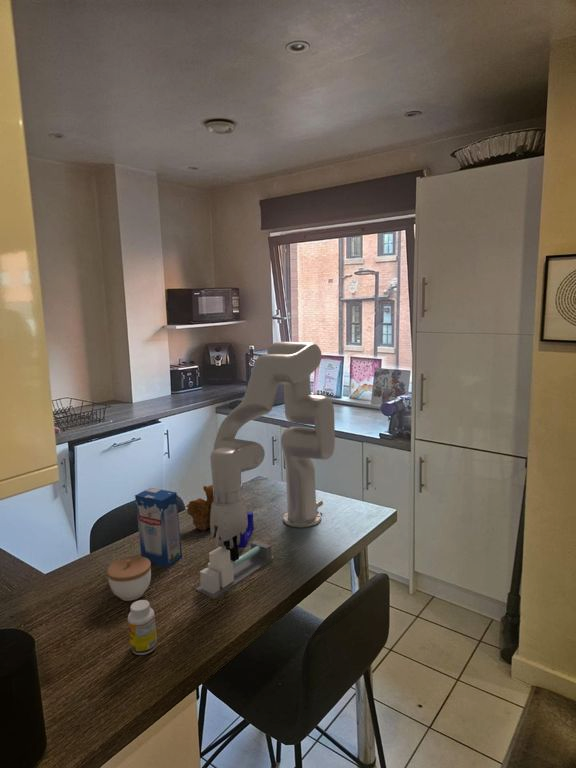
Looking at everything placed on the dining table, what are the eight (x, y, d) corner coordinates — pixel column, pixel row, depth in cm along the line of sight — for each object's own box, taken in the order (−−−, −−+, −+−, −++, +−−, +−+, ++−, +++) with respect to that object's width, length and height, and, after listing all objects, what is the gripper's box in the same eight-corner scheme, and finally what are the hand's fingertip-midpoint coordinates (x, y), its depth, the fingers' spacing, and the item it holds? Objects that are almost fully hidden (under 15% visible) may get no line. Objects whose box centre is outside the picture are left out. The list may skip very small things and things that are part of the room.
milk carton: (141, 560, 150) (134, 495, 147) (156, 550, 156) (150, 487, 152) (168, 567, 146) (161, 500, 142) (182, 557, 151) (176, 492, 147)
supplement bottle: (132, 641, 115) (127, 599, 113) (158, 637, 116) (154, 595, 114) (129, 658, 109) (125, 614, 108) (156, 653, 110) (152, 610, 109)
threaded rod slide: (256, 551, 152) (255, 534, 151) (275, 558, 148) (274, 541, 147) (195, 589, 134) (193, 571, 133) (214, 598, 129) (213, 579, 129)
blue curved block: (240, 529, 167) (239, 512, 166) (253, 529, 167) (252, 512, 166) (231, 547, 156) (229, 529, 155) (245, 548, 155) (244, 529, 154)
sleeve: (220, 574, 139) (217, 545, 138) (233, 580, 136) (231, 551, 135) (209, 581, 136) (206, 552, 135) (223, 587, 133) (220, 557, 132)
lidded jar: (109, 588, 136) (105, 555, 135) (151, 578, 140) (147, 546, 138) (110, 610, 127) (106, 575, 125) (155, 600, 130) (152, 565, 129)
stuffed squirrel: (236, 523, 171) (234, 486, 169) (198, 537, 163) (195, 497, 161) (221, 514, 179) (219, 478, 177) (184, 526, 171) (181, 489, 169)
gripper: (237, 482, 144) (241, 543, 147) (196, 501, 132) (202, 567, 136) (257, 488, 139) (261, 551, 142) (217, 508, 128) (223, 576, 131)
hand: (232, 558), depth 139 cm, fingers closed
